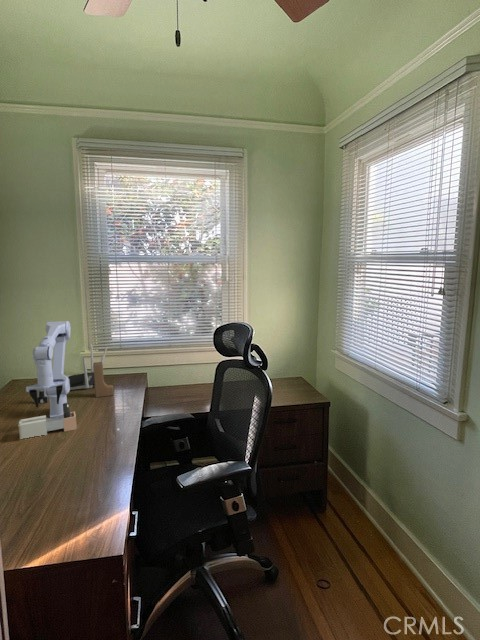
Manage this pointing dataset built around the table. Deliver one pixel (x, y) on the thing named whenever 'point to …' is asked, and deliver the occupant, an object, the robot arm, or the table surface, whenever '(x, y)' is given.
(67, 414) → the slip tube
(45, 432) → the white channel beam
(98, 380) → the wooden block
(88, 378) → the wireless router
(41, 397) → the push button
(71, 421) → the socket
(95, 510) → the table surface
